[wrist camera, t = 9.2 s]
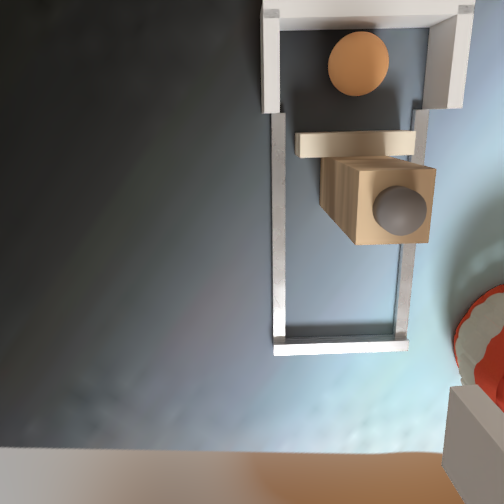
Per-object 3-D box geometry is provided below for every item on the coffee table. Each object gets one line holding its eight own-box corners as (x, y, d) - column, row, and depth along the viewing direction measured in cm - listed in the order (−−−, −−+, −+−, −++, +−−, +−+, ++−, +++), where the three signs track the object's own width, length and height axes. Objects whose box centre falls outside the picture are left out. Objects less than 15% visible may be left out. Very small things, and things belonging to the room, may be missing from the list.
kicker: (294, 205, 33) (323, 252, 22) (294, 132, 32) (326, 141, 20) (394, 203, 33) (476, 248, 22) (400, 129, 32) (492, 136, 20)
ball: (324, 33, 29) (321, 94, 31) (336, 29, 26) (332, 99, 27) (381, 32, 29) (375, 93, 31) (401, 28, 26) (393, 97, 27)
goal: (261, 113, 31) (264, 113, 27) (260, 14, 29) (262, -1, 25) (435, 109, 31) (462, 108, 28) (445, 11, 29) (475, -5, 26)
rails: (273, 348, 37) (274, 355, 36) (271, 113, 31) (272, 113, 30) (402, 343, 37) (408, 350, 36) (425, 109, 31) (433, 109, 30)
